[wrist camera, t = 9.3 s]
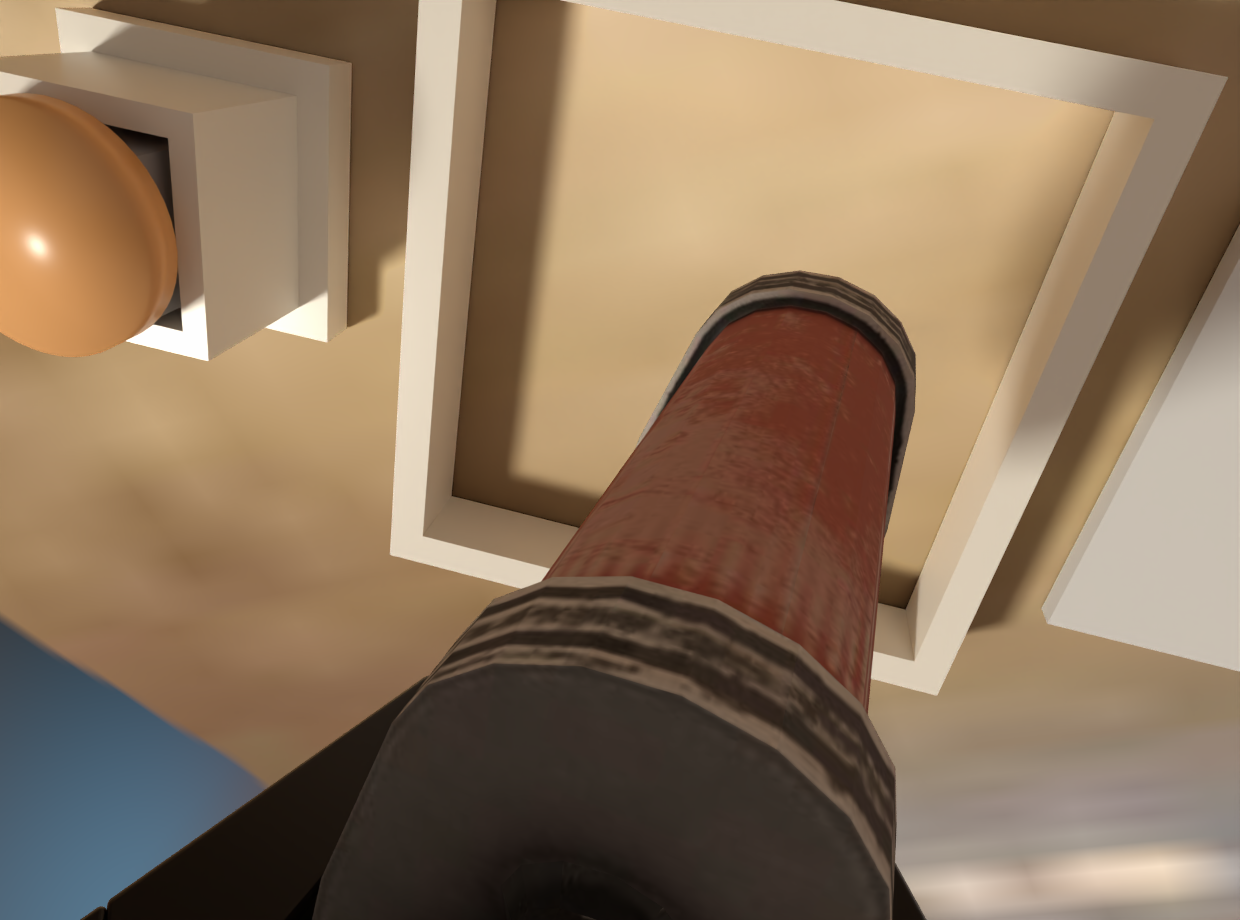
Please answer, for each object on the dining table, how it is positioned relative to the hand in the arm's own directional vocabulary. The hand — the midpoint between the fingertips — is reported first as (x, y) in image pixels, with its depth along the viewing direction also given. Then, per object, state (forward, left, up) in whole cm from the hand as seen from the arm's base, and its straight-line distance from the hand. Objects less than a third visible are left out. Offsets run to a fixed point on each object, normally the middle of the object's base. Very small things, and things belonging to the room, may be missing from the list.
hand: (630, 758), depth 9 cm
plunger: (-1, -12, -11) cm, 16 cm away
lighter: (0, +1, -4) cm, 4 cm away
